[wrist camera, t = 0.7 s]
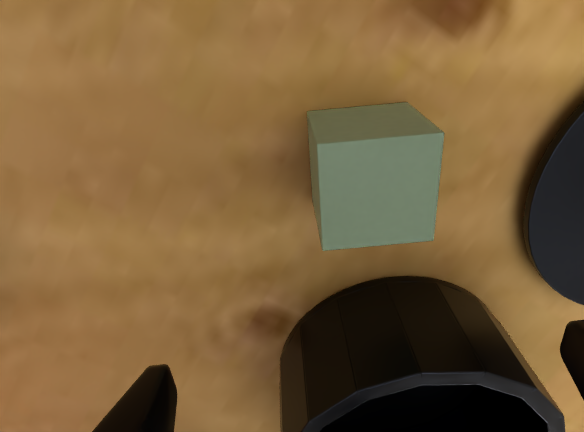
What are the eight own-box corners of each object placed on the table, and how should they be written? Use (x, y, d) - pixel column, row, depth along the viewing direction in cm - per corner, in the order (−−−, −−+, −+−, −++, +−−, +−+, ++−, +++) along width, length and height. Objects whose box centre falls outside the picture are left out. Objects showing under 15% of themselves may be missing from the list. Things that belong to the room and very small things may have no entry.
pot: (510, 401, 28) (572, 506, 22) (320, 452, 30) (332, 561, 24) (483, 243, 22) (558, 333, 16) (244, 320, 24) (235, 425, 18)
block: (407, 101, 18) (445, 132, 14) (402, 192, 20) (434, 241, 16) (306, 110, 18) (316, 144, 14) (312, 201, 20) (322, 251, 16)
